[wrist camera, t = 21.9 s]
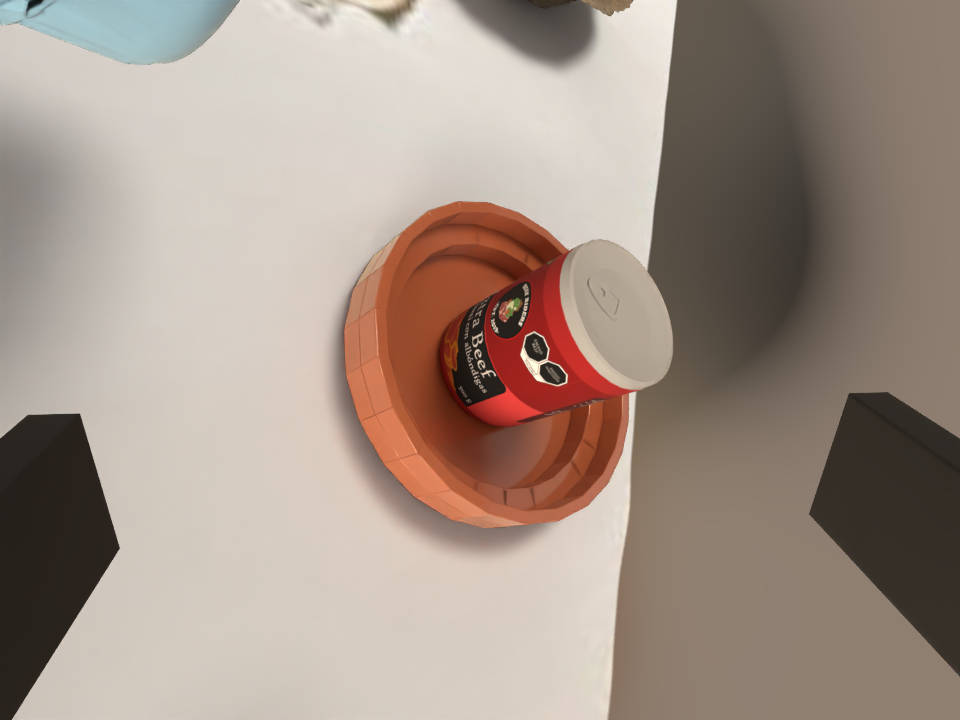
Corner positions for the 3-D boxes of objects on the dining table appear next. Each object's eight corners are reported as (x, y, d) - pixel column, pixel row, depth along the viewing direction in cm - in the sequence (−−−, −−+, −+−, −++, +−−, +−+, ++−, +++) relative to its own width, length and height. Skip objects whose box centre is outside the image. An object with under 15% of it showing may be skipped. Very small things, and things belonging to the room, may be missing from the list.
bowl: (298, 231, 32) (329, 196, 29) (535, 229, 45) (573, 204, 42) (398, 582, 30) (442, 582, 27) (616, 474, 43) (663, 467, 40)
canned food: (444, 292, 37) (573, 210, 29) (538, 340, 41) (673, 280, 33) (424, 405, 33) (564, 349, 25) (528, 445, 37) (677, 408, 29)
